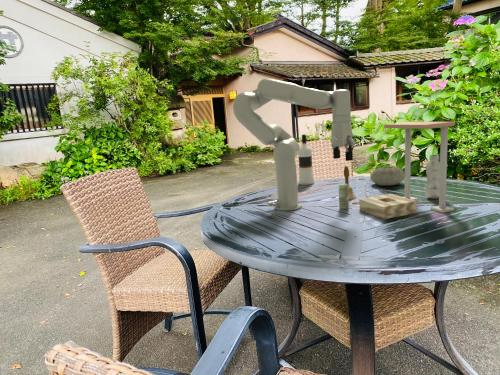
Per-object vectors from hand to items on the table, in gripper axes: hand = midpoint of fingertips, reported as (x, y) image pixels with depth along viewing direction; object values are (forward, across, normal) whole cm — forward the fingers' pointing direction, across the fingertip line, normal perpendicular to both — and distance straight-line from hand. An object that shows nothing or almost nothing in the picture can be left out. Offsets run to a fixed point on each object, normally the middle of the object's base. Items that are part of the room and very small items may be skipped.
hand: (342, 159), depth 159 cm
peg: (+22, 0, 0) cm, 22 cm away
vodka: (+22, -60, +12) cm, 65 cm away
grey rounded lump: (+22, -29, +46) cm, 59 cm away
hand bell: (+22, -16, +12) cm, 30 cm away
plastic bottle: (+22, +8, +42) cm, 48 cm away
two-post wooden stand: (+22, +14, +27) cm, 37 cm away
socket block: (+22, +14, +12) cm, 29 cm away
